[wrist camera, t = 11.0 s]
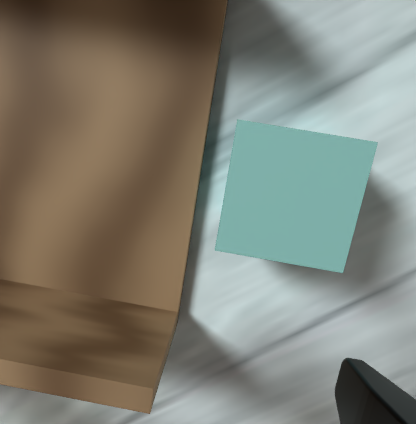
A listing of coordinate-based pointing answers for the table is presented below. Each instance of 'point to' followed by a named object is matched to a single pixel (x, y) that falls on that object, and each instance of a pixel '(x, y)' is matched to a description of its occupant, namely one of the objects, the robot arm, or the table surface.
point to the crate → (99, 188)
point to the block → (293, 195)
